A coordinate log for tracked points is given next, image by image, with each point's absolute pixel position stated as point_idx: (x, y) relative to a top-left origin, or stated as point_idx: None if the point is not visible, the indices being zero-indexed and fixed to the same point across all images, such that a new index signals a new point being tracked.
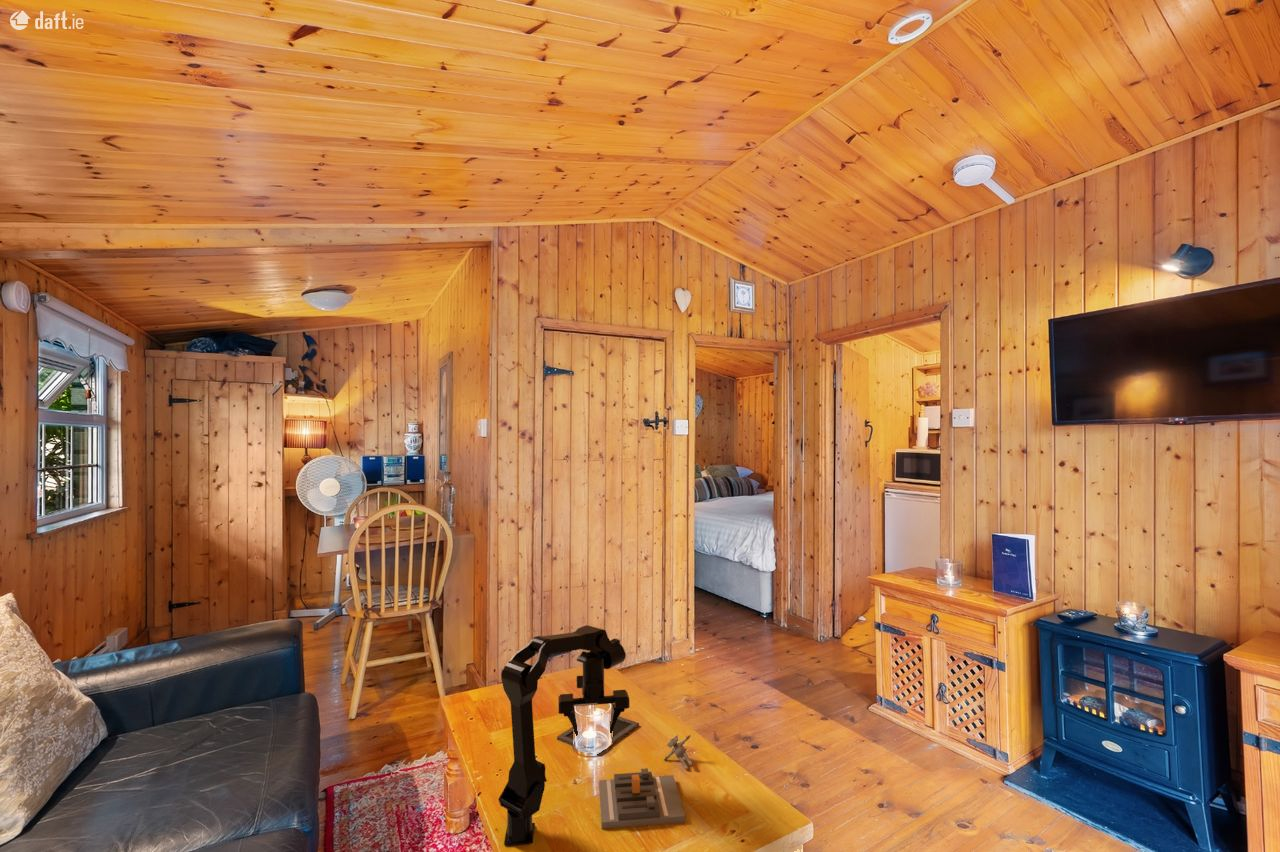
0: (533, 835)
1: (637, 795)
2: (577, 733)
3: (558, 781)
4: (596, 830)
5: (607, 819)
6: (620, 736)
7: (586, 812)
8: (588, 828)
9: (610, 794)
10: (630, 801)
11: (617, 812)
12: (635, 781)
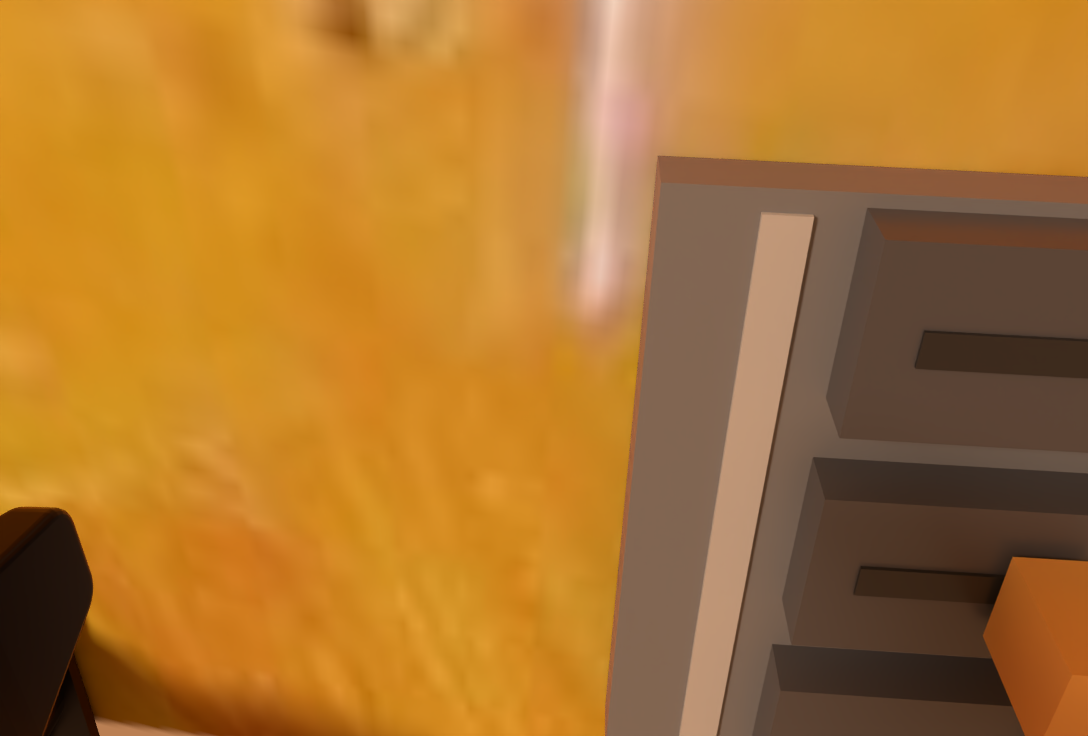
0: (83, 714)
1: None
2: (66, 664)
3: None
4: (563, 710)
5: (658, 733)
6: None
7: (489, 530)
8: (501, 685)
9: (752, 469)
10: (915, 700)
11: (762, 681)
12: None
